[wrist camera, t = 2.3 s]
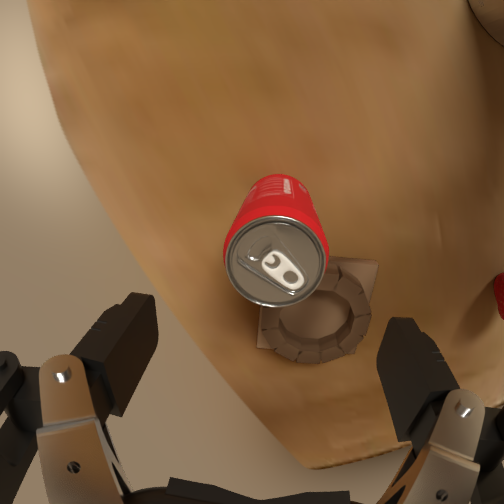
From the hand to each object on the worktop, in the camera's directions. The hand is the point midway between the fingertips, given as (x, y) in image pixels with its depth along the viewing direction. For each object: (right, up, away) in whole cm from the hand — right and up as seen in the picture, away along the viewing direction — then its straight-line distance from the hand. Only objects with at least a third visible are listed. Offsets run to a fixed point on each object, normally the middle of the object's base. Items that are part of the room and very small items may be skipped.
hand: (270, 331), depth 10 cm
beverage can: (+2, +7, +16) cm, 17 cm away
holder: (+5, -2, +19) cm, 20 cm away
